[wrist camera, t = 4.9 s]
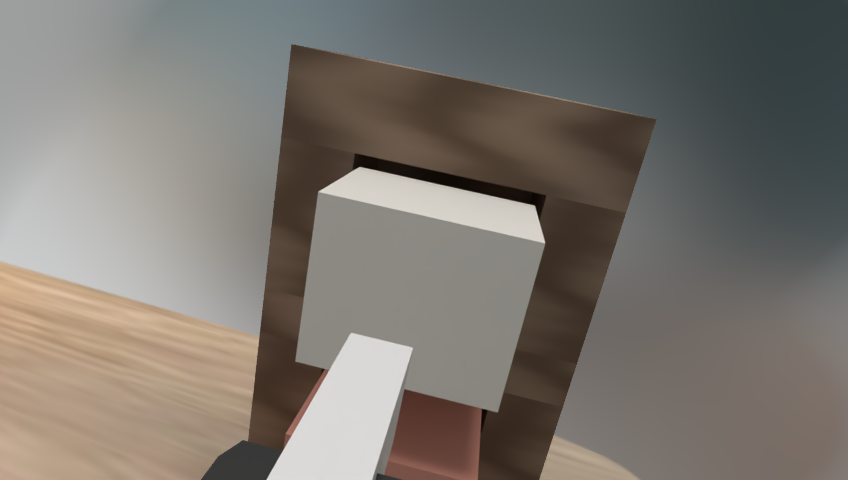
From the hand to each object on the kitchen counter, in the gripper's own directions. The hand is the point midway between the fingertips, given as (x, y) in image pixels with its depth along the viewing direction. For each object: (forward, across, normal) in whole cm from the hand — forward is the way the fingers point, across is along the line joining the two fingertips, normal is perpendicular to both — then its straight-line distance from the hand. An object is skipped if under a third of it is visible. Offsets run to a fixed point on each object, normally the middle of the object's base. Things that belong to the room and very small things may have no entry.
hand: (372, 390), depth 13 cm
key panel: (+13, 0, -17) cm, 21 cm away
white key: (+7, 0, -3) cm, 8 cm away
